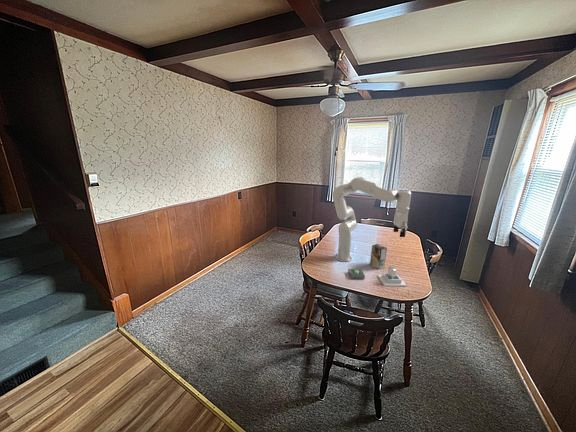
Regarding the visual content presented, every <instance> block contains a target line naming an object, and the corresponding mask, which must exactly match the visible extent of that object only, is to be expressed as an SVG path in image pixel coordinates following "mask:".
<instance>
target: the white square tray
mask: <svg viewBox="0 0 576 432" xmlns="http://www.w3.org/2000/svg"><path fill="white" fill-rule="evenodd" d="M377 277H378V279H379V280H380V282H381V284H383V286H385V287H386V286H387V287H406V286H407V284H406V283H405V281H404V280H403V279H402V278H401V277H400V275H398V274H397V273H396V279H388V272H382V274H377Z"/></svg>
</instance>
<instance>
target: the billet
mask: <svg viewBox="0 0 576 432" xmlns="http://www.w3.org/2000/svg"><path fill="white" fill-rule="evenodd" d="M387 273H388V279H396V274H397V273H398V269H397V268H396V267H394V266H388V271H387Z"/></svg>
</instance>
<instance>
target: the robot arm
mask: <svg viewBox="0 0 576 432" xmlns="http://www.w3.org/2000/svg"><path fill="white" fill-rule="evenodd" d="M356 192H361V193H363V194H367V195H370V196H371V197H372V198H375V199H377V200H379V201H383V202H385V203H392V202H394V201H396V208H395V213H394V217H393V231H392V232H393V233H398V232H399V237H400V238H405V237H406V232H407V230H408V228H409V227H408V221H409V219H408V218H409V211H410V204H411V199H412V192H411V191H410V190H409V191H408V190H400V189H396V188H391V189H389V190H388V189H384V188H382V187H379V186H378V185H377V184H376V183H375V182H374V181H373V182H372V181H369V180H366V179H365V178H364V177H362V176H359V177H358V176H357V177H354V178H353V179H352V180H350V182H347V183H346V184H341V185H338V186H336V188H334V189H333V192H332V200H333V203H334V207H335V211H336V214H337V215H336V216H337V218H338V219H339V221H342V222H341V223H340V224H339V225H338V246H337V254H336V255H335V259H336V260H337V261H339V262H344V263H345V262H351V261H352V260H353V259H352V256H351V255H350V254H351V247H352V233H351V232H352V231H354V230H356V228H357V227H358V226H357V225H358V224H357V219H356V214H355V211H354V209H353V208H352V206H349V205H347V201H346V200H345V198H344V197H345V196H349V195H351V194H354V193H356ZM399 229H400V231H399Z"/></svg>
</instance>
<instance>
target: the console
mask: <svg viewBox="0 0 576 432" xmlns="http://www.w3.org/2000/svg"><path fill="white" fill-rule="evenodd" d="M354 270H358V271H359V274H354ZM347 273H348V275H349V278H350V279H351V280H365V278H366V275H365V273H364V271H363V270H362V269H361V268H348V270H347Z"/></svg>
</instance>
